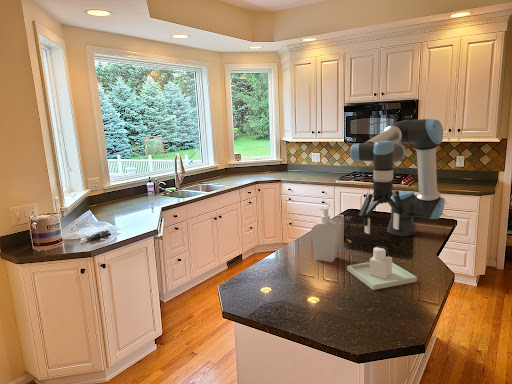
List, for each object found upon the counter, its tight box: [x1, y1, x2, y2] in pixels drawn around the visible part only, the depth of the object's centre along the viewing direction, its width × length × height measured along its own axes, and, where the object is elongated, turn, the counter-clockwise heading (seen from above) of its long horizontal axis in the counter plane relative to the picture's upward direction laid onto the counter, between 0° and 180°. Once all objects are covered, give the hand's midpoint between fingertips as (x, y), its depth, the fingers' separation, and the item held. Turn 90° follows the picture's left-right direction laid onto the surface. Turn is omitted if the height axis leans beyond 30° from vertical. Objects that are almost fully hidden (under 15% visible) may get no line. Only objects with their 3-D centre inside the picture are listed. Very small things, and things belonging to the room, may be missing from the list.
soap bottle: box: [310, 204, 342, 263], centre depth 171 cm, size 12×10×26 cm
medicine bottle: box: [368, 245, 393, 279], centre depth 151 cm, size 7×7×12 cm
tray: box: [346, 261, 418, 291], centre depth 152 cm, size 20×20×2 cm
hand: (381, 230), depth 149 cm, fingers open, 13 cm apart
